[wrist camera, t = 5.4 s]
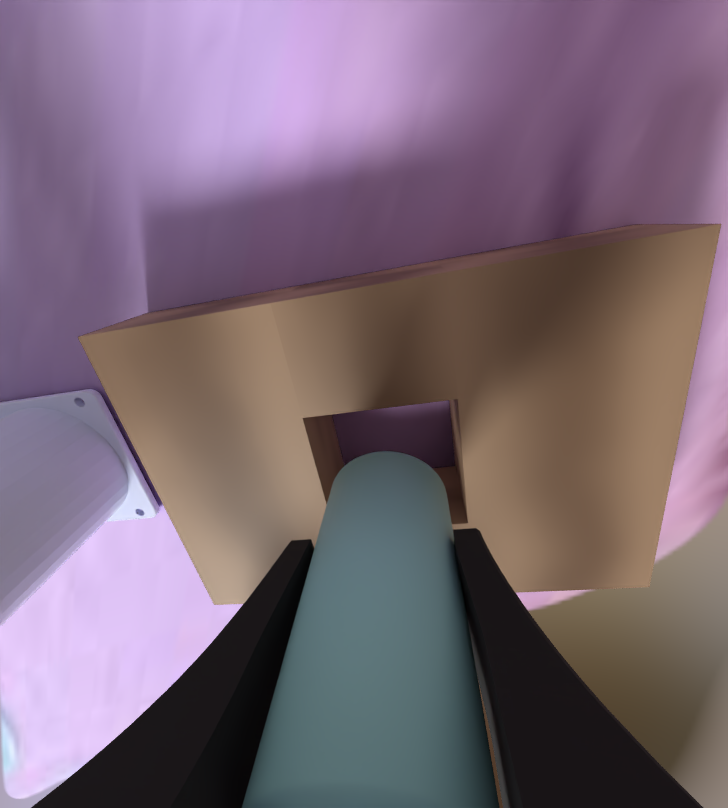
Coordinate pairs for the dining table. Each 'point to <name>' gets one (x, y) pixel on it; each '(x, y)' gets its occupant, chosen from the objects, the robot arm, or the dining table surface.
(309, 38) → the dining table surface
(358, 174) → the dining table surface
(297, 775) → the peg
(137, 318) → the socket block
